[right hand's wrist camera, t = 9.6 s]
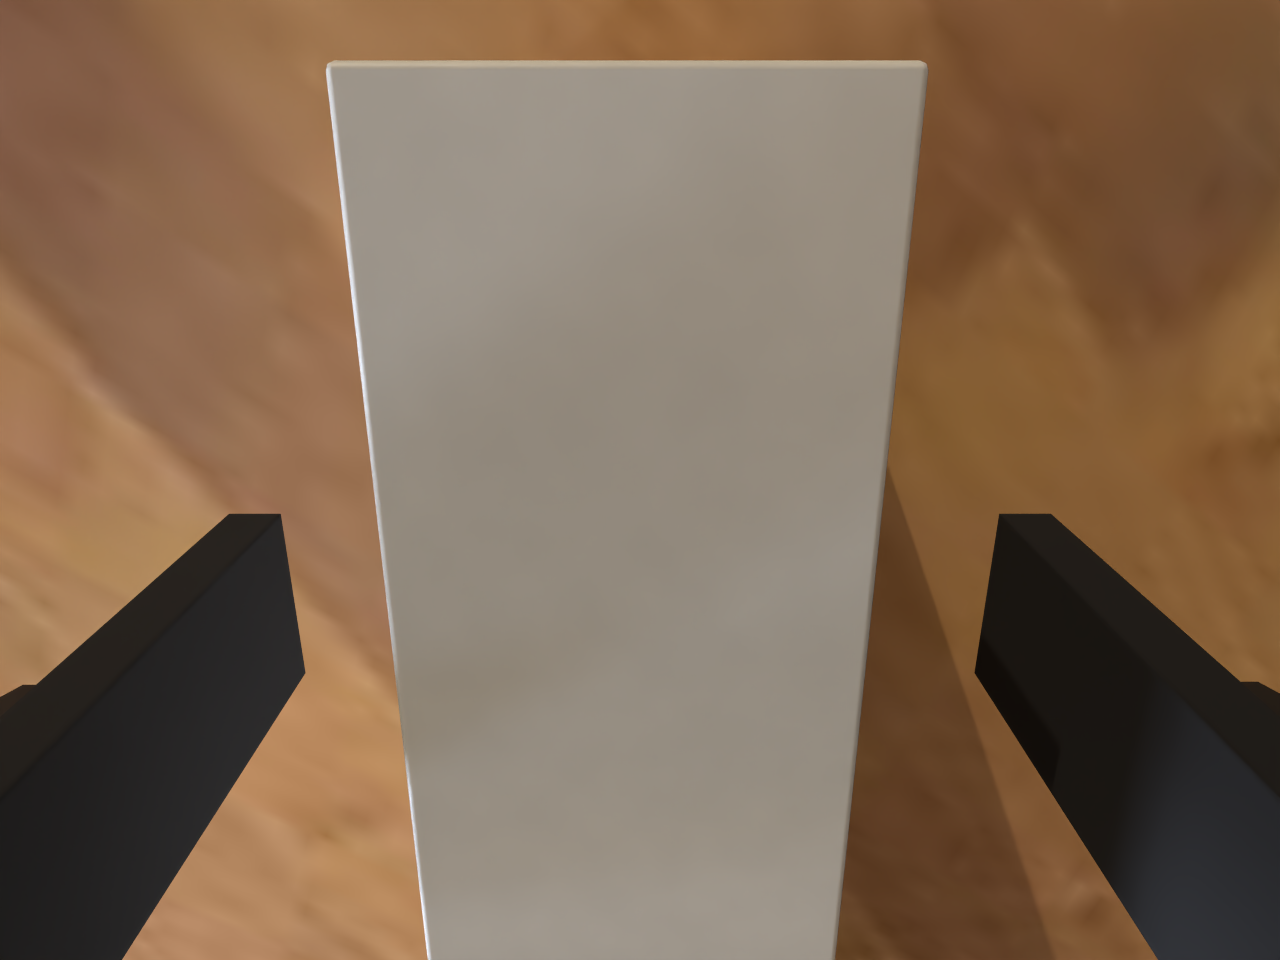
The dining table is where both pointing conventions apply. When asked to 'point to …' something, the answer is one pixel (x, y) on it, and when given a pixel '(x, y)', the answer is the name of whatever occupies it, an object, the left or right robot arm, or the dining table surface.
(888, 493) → the dining table surface
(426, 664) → the bar
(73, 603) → the dining table surface
